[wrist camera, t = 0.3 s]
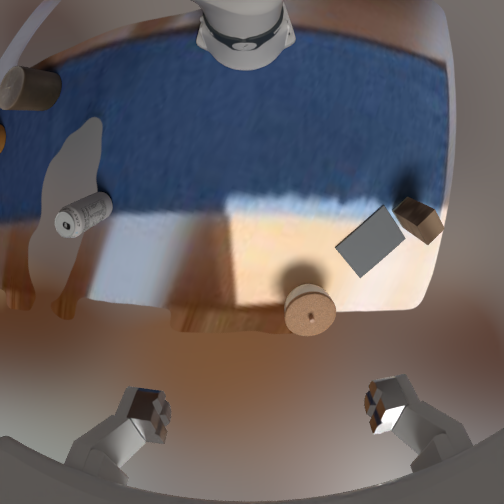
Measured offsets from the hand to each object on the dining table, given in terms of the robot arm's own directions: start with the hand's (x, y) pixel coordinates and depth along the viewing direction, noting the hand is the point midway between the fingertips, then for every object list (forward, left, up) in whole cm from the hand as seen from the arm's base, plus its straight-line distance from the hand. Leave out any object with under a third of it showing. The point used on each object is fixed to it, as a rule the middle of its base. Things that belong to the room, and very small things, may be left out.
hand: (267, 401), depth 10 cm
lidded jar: (+24, +11, -47) cm, 54 cm away
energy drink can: (+1, -33, -47) cm, 58 cm away
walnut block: (+4, +33, -47) cm, 57 cm away
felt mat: (+11, +25, -47) cm, 54 cm away
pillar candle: (-29, -48, -47) cm, 74 cm away
